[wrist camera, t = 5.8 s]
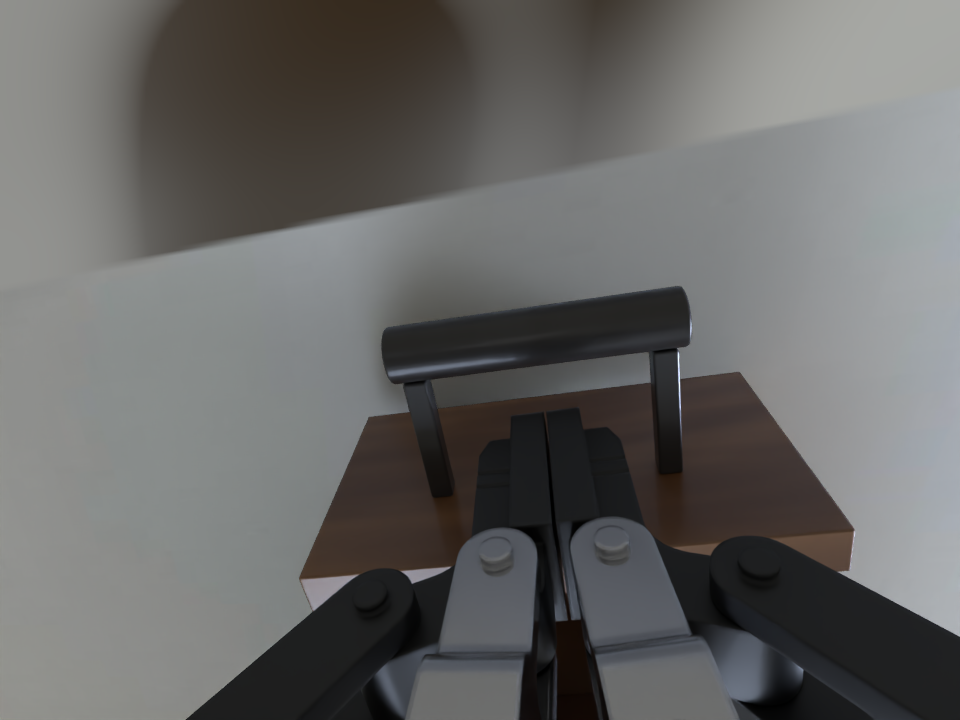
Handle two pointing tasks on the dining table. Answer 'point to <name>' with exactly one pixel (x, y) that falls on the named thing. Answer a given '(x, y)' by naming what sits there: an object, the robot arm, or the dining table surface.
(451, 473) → the drawer
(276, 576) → the dining table surface
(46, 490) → the dining table surface
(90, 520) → the dining table surface
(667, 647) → the robot arm
